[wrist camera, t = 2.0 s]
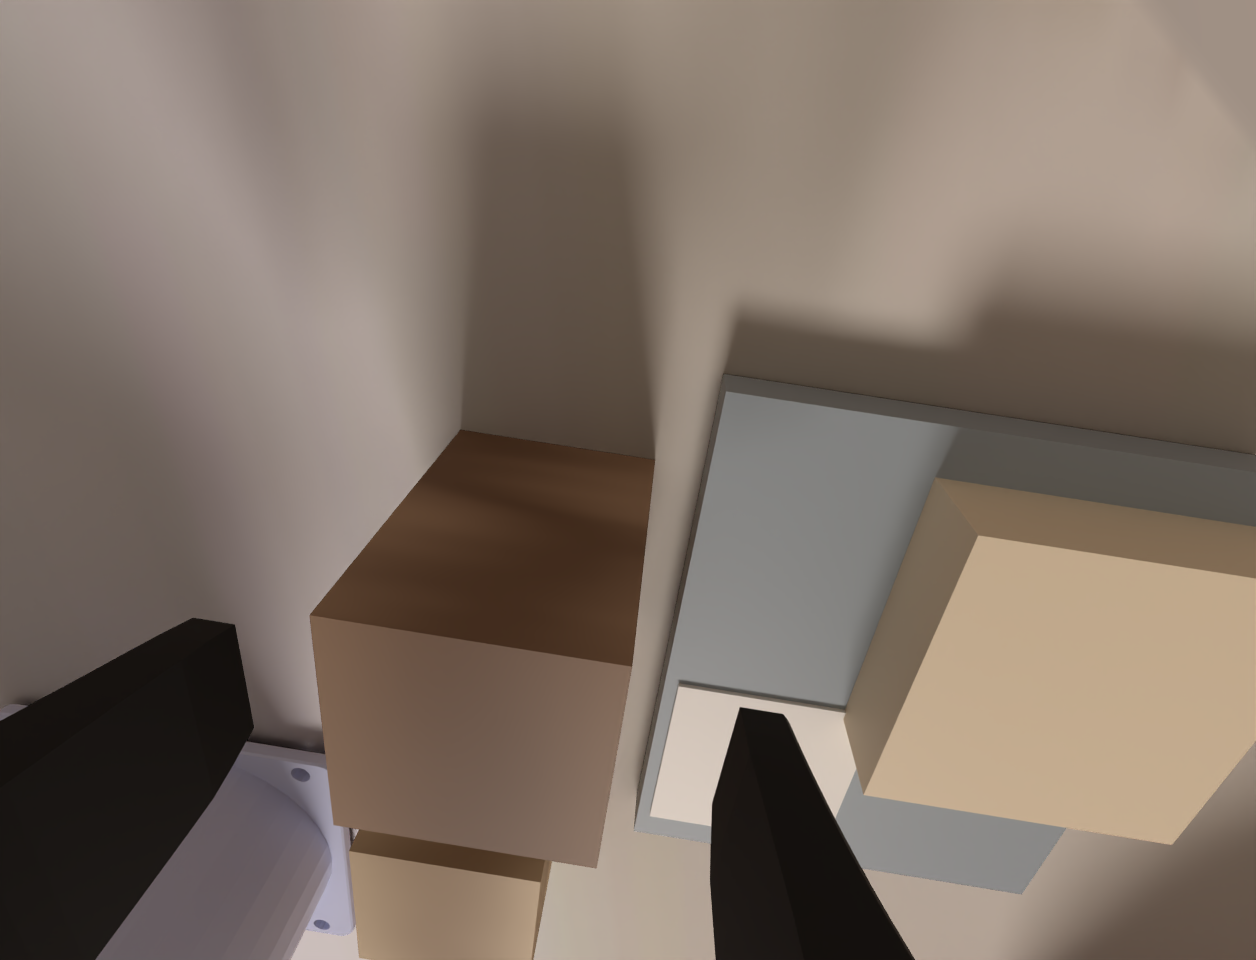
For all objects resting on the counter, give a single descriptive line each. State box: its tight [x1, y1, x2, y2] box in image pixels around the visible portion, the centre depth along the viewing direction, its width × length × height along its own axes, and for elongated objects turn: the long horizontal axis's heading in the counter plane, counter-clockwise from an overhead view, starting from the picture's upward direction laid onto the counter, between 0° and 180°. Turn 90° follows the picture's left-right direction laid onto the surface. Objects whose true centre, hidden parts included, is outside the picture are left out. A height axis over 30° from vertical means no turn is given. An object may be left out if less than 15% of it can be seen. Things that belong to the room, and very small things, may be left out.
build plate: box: [634, 374, 1256, 894], centre depth 14 cm, size 10×12×3 cm
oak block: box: [349, 829, 552, 960], centre depth 16 cm, size 4×4×4 cm
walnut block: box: [310, 430, 655, 868], centre depth 12 cm, size 4×4×6 cm
